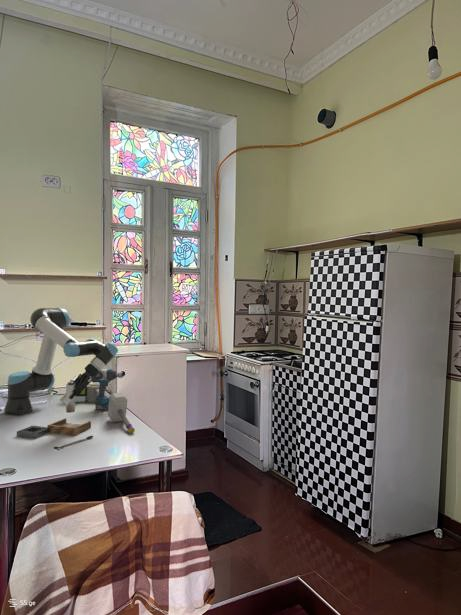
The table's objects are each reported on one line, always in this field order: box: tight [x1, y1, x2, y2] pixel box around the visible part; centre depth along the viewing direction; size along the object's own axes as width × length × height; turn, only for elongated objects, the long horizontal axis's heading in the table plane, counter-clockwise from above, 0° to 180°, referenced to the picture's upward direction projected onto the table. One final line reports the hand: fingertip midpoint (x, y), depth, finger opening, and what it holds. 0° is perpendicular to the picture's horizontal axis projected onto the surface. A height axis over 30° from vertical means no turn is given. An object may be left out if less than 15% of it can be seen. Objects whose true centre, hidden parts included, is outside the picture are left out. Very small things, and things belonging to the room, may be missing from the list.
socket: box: [16, 425, 50, 440], centre depth 217 cm, size 11×11×2 cm
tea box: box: [69, 375, 91, 403], centre depth 295 cm, size 15×10×15 cm
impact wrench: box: [91, 368, 124, 411], centre depth 271 cm, size 8×23×25 cm, turn 78°
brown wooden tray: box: [46, 417, 92, 436], centre depth 226 cm, size 16×14×4 cm
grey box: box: [86, 383, 100, 403], centre depth 291 cm, size 13×10×10 cm
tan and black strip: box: [53, 435, 94, 451], centre depth 205 cm, size 21×7×1 cm, turn 146°
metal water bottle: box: [65, 381, 76, 414], centre depth 225 cm, size 4×4×15 cm
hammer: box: [107, 392, 135, 434], centre depth 234 cm, size 15×8×30 cm
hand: (63, 402), depth 223 cm, fingers closed on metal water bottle, 4 cm apart
